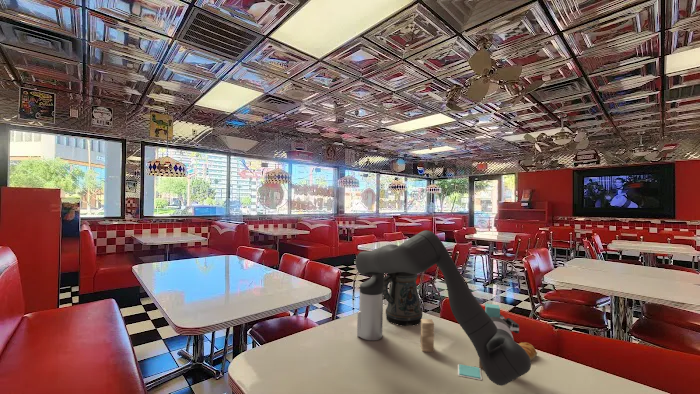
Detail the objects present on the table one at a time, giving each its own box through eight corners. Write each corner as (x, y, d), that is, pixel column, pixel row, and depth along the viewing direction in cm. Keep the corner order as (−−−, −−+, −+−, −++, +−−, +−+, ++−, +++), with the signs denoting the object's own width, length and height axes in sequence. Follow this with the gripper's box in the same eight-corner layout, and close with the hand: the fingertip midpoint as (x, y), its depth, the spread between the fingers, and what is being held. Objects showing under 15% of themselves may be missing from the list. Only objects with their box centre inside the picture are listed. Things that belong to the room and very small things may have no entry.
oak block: (422, 351, 110) (422, 323, 110) (420, 346, 114) (420, 318, 114) (433, 351, 109) (433, 323, 110) (431, 346, 113) (431, 319, 114)
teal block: (486, 338, 99) (486, 307, 100) (485, 333, 103) (485, 303, 104) (499, 340, 98) (499, 308, 98) (498, 335, 102) (498, 304, 102)
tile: (457, 375, 94) (457, 374, 94) (457, 364, 101) (457, 363, 101) (481, 380, 92) (481, 378, 92) (480, 368, 99) (480, 367, 99)
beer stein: (427, 317, 142) (428, 263, 143) (411, 332, 126) (412, 270, 126) (394, 310, 151) (395, 259, 152) (375, 323, 135) (377, 265, 135)
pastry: (530, 365, 102) (530, 354, 102) (508, 358, 106) (508, 347, 106) (538, 356, 108) (538, 345, 108) (517, 349, 113) (517, 338, 113)
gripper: (525, 325, 85) (515, 306, 101) (470, 318, 90) (468, 301, 106) (525, 353, 85) (515, 329, 101) (470, 344, 90) (468, 323, 106)
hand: (491, 315), depth 103 cm, fingers closed on teal block, 4 cm apart
